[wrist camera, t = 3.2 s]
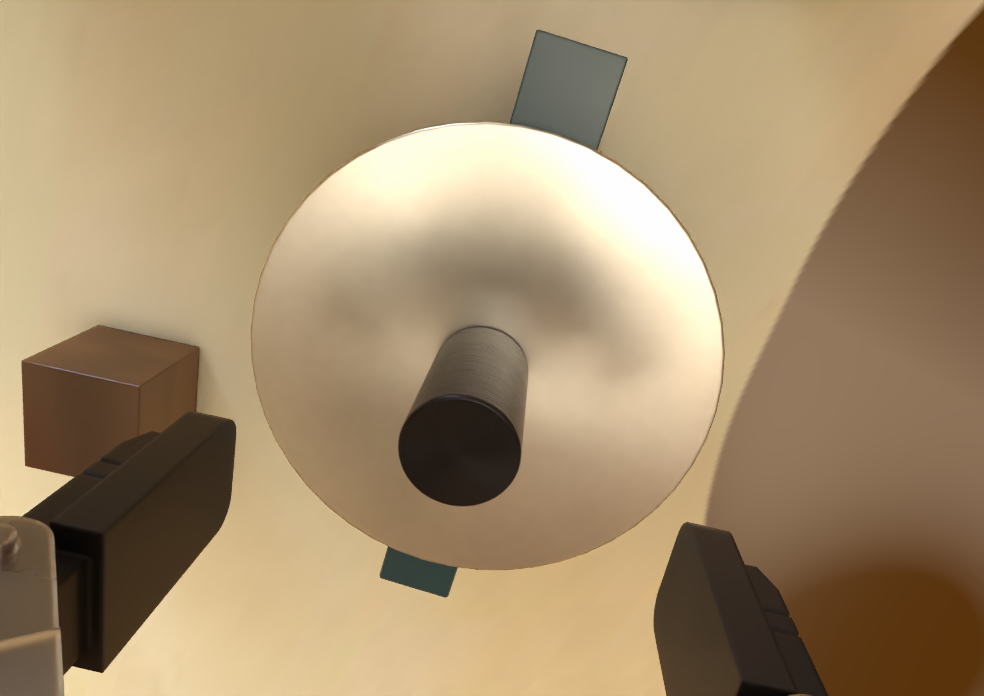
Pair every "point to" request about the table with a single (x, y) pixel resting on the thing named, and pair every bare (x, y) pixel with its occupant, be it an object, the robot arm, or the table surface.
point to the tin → (556, 108)
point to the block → (102, 395)
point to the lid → (487, 345)
